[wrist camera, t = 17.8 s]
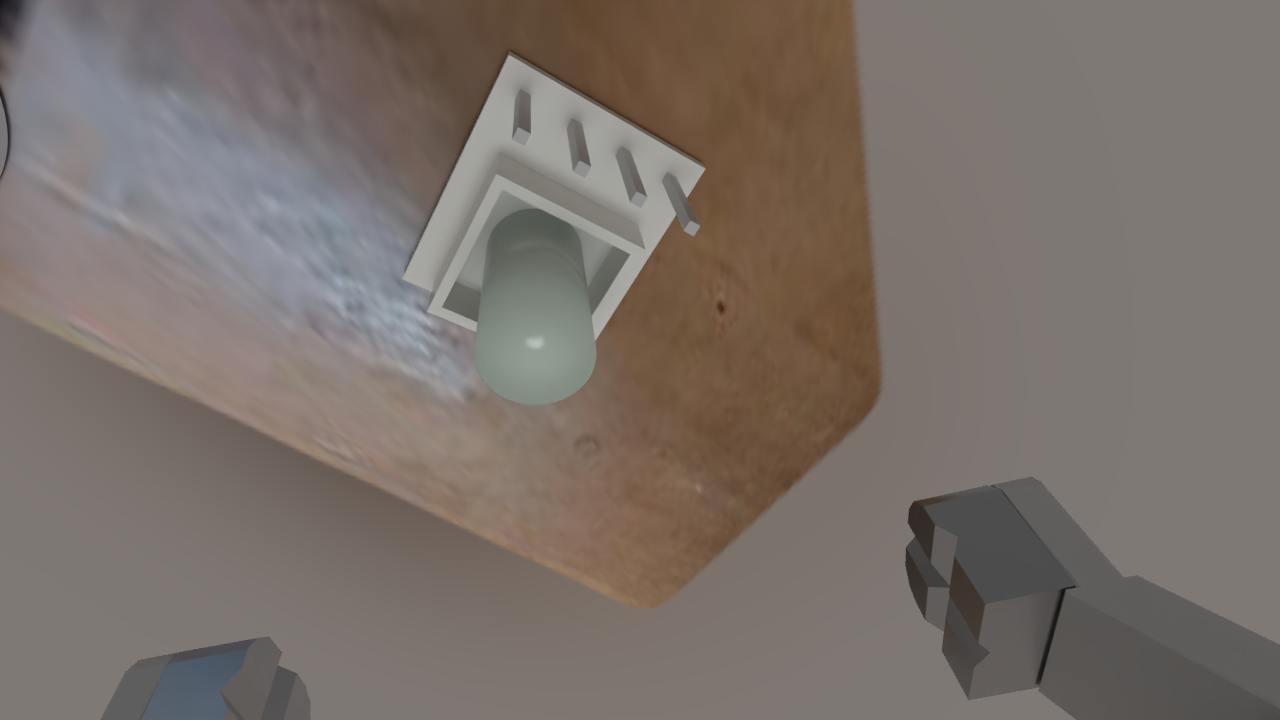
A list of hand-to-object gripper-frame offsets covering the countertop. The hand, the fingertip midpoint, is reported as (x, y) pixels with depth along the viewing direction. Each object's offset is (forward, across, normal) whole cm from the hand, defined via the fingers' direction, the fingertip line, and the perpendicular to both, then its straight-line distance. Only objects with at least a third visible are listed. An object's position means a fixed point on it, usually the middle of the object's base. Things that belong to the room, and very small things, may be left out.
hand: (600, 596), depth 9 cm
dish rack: (+34, +2, +9) cm, 35 cm away
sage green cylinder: (+33, +3, +10) cm, 35 cm away
